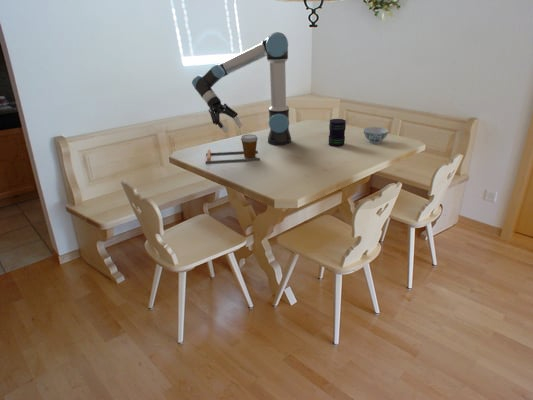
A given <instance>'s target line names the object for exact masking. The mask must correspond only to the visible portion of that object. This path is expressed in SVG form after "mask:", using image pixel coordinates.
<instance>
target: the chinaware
mask: <svg viewBox="0 0 533 400" xmlns="http://www.w3.org/2000/svg"><path fill="white" fill-rule="evenodd" d="M388 134H389V130H388V129H387V128H385V127H377V126H369V127H365V128H363V135H364V137H365V139H366V140H368V141H369V143H370V144H375V145H377V144H381V142H382V141H383V140H385V139H386V137H387V136H388Z"/></svg>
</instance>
